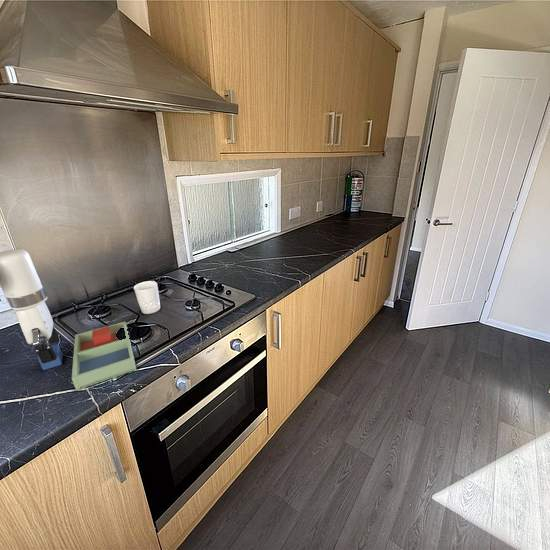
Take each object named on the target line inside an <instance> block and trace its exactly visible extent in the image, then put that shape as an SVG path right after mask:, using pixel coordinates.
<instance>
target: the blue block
mask: <svg viewBox="0 0 550 550" xmlns="http://www.w3.org/2000/svg"><path fill="white" fill-rule="evenodd" d="M50 347H52V348H53V350H54V353H55V355H56V357H57V359H56V360H54V361H51V362H47V363H44V364H43V363H42V362H41V360H40V358H39V356H38V355H37V360H38V362H39V365H40V367H41V369H42V371H45V370H49V369H52V368H55V367H59V366H61V365H63V361H64V360H63V359H64V355H63V353H62V350H61V347H60V344H59V343H56V344H52V345H50Z"/></svg>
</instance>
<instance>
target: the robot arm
mask: <svg viewBox="0 0 550 550" xmlns="http://www.w3.org/2000/svg"><path fill="white" fill-rule="evenodd" d="M0 289H1V290H2V292H3V294H4V296H5V298H6V300H7V303H8V304H9V307H10V309H11V310H14V311H15V315H16V317H17V320H18V323H19V326H20V329H21V331H22V333H23V336H24V338H25V341H26V343H27V344H28V345H33V347H34V350H35V351H36V354H37V357H38V356H39V358H40V360H41V362H42V363H43V364H44V363H47V362H51V361H54V360H56V359H57V357H56V355H55V353H54V350H53V348H52V347H50V346H51V344H55V343H57V342H60V336H59V334H58V332H57V330H56V328H55V326H54V320H53V317H52V315H51V312H50V310H49V308H48V306H47V303H46V301H47V300H48V296H47V293H46V291H45V289H44V287H43V284H42V282H41V279H40V276H39V274H38V272H37V270H36V267H35V264H34V262H33V260H32V258H31V255H30V253H29V252H28V251H26V250H25V249H22V248H21V249H20V248H16V249H15V248H14V249H8V250H3V251H0ZM43 342H45V343H43Z"/></svg>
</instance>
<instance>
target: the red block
mask: <svg viewBox="0 0 550 550" xmlns="http://www.w3.org/2000/svg"><path fill="white" fill-rule="evenodd" d="M107 326H108V327H106V326H104V327H105V328H103V327H100V328H101V329H99V328H96V329H97V330H95V329H93V330H94V331H92V338H93V341H94V345H95V347H98V346H101V345H105V344H108V343H111V342H113V341H112V336H111V333H110V329H109V326H110V325H107Z"/></svg>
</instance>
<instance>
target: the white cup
mask: <svg viewBox="0 0 550 550" xmlns="http://www.w3.org/2000/svg"><path fill="white" fill-rule="evenodd" d="M133 290H134V294H135V297H136V300H137V303H138V306H139V309H140V311H141V313H142V314H144V315H150V314H154V313H156V312H158V311H160V309H161V301H160V292H159V287H158V283H157V281H154V280H147V281H142V282H139V283H137V284H135V285H134V286H133Z"/></svg>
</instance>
